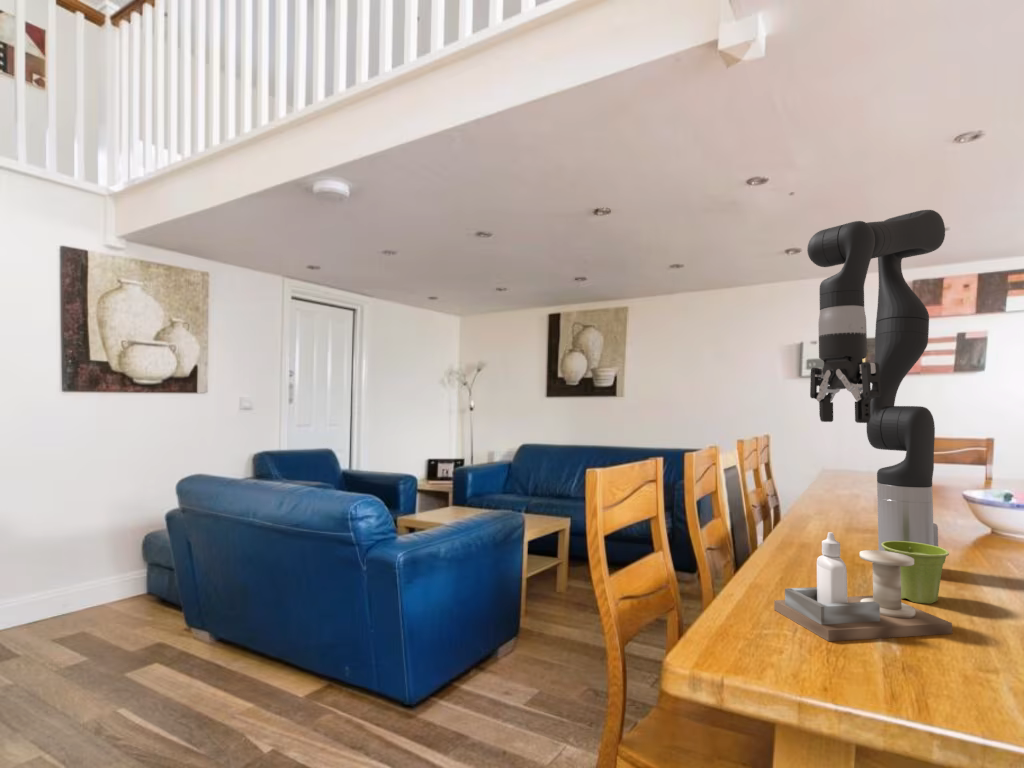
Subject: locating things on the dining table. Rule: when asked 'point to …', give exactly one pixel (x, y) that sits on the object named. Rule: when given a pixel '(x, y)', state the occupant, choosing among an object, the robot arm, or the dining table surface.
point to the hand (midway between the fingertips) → (843, 422)
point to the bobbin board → (864, 607)
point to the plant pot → (919, 570)
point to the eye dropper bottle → (831, 573)
